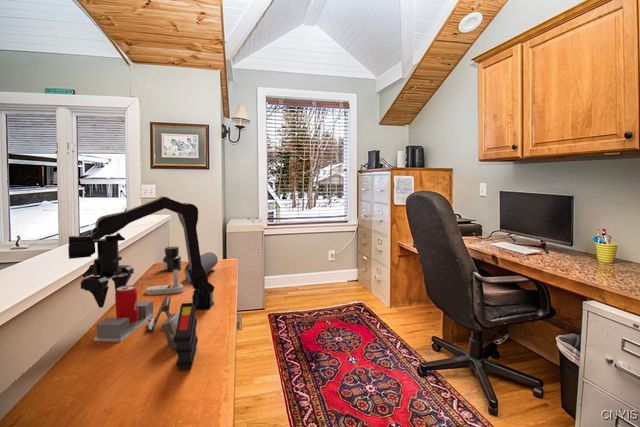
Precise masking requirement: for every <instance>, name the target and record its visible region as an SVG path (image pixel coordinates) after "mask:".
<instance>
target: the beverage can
mask: <svg viewBox="0 0 640 427" xmlns="http://www.w3.org/2000/svg"><path fill="white" fill-rule="evenodd" d="M114 297H115V298H114V299H115V314H116V315H115V318H129V325H133V324H134V323H136V322H137V321H138V301H139V300H138V290H137V289H136V286H135V285H131V284H129V285H127V284H126V286H121V287H118V288H117V291H115V295H114Z"/></svg>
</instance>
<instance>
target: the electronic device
mask: <svg viewBox="0 0 640 427" xmlns="http://www.w3.org/2000/svg"><path fill="white" fill-rule="evenodd" d="M172 272H173V275H172V276H173V277H172V281H173V284H166V285H165V284H163V285H153V286H152V285H151V286H148V287H146V288H145V294H146V295H149V296H152V295H154V296H155V295H166V294H167V295H168V294H169V295H170V294H178V293H179V294H180V293H182V292H183V291H184V285H183V284H181V283H180V281H179V273H178V272H179V270H177V269H176V270H173V271H172Z"/></svg>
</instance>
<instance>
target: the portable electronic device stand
mask: <svg viewBox="0 0 640 427" xmlns="http://www.w3.org/2000/svg"><path fill="white" fill-rule="evenodd" d="M171 300H172V298H171V297H170V296H165V297H164V299H163V300H162V302H161V305H160V307H159V310H158V312H157V314H156V316H155V318H153V317H151V316H150V318H149V320H148V322H147V325H146V332H147V333H148V334H151V333H152V332H153V331H154V329H155V328H156V326H157V322H158V320H159V318H160V316H161V313H163V312H164V313H165V314H166V316H167V319H168V318H169V317H170V316H171V315H172V313H171V312H170V306H171Z"/></svg>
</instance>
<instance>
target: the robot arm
mask: <svg viewBox="0 0 640 427" xmlns="http://www.w3.org/2000/svg"><path fill="white" fill-rule="evenodd" d="M165 209H166V210H168V211H171V212H174V213H176V214H177V217H178V219H179V221H180V225H181V226H182V228H183V234H184V240H185V247H186V255H187V260H188V263H189V267H188V270H185V269H184V275H185V279H184V280H185V282H187V284H188V285H189V286H191V287H192V289H193V290H194V291H193V294H192V296H191V297H192V301H191V303H194V305H196V308H195V310H210V309H211V308H212V307H213V305H215V301H213V300H214V296H213V292H214V290H215V286H214V285H213V284H211V283H210V282H209V279H208V275H207V274H206V272H205V270H204V268H203V266H202V264H201V257H200V255H201V252H200V244H199V237H198V231H197V226H198V221H199V208H198V207H197V206H196V205H195V204H192V203H188V202H179V201H176V200H173V199H171V198H170V197H168V196H160V197H158V198H156V199H154V200H152V201H149V202H146V203H144V204H141V205H138V206H136V207H133V208H130V209H127V210H126V211H122V212H114V213H111V214H106V215H102V216H100V217H98V218H97V220H96V222H95V227H94V228H93V229H92V230H91V232H90V233H89V235H80V236H79V235H78V236H76V235H71V236H68V246H67V250H68V252H67V253H68V259H69V260H72V259H84V258H92V255H94V254H96V248H97V258H96V259H94V260H93V264H90V265H89V266H90V267H89V269H88V270H87V271H86V272H85V273H84V274H83V275H82V276H83V277H84V278H83V279H82V280H81V281H80V289H81V290H84V291H88V292H90V293H91V294H92V296H93V297H94V298H93V299H94V300H95V302H96V304H97V305H98V308H101V309H102V308H103V307H104V305H105V304H106V298H107V295H108V291H109V286H108V284H109V281H110V280H112V281H113V282H114V290H115V292H116V291H117V288H118V287H121V286H127V284H128V282H129V281H130V279H131V277H132V276H133V275H132V274H134V273H135V272H134V267H133V266H132V265H129V264H127V265H126V264H124V265H123V264H121V265H120V261H122V260H123V258H122V256H120V255H119V254H120V253H119V241H120V242H121V241H125V240H126V238H125V237H124V236H123V235H121V233H120V232H119V231H121V230H122V229H124V228H125V227H126V226H127V225H129V224H131V223H133V222H135V221H137V220H140V219H143V218H145V217H147V216H149V215H152V214H155V213H157V212H159V211H162V210H165ZM96 246H97V247H96Z"/></svg>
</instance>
